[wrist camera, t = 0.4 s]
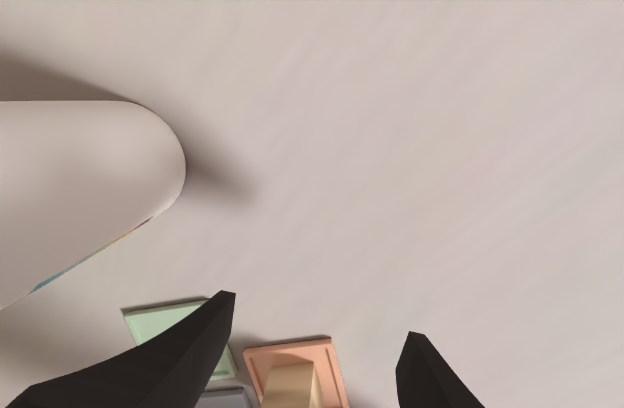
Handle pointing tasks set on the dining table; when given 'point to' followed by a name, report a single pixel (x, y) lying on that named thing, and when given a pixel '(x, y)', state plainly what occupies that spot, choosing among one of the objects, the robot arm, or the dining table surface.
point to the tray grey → (224, 399)
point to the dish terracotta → (295, 353)
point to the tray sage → (161, 319)
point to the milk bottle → (77, 184)
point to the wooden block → (293, 387)
